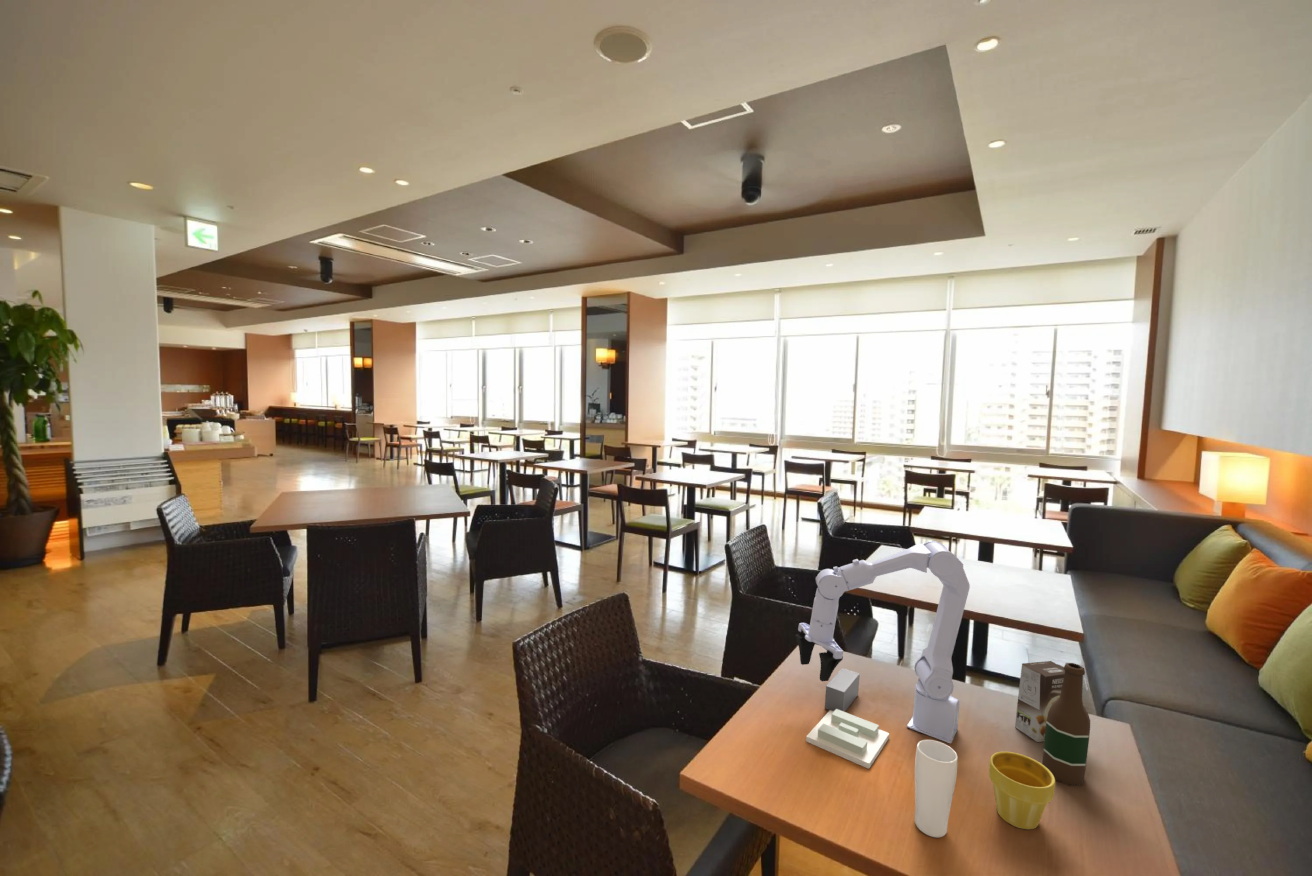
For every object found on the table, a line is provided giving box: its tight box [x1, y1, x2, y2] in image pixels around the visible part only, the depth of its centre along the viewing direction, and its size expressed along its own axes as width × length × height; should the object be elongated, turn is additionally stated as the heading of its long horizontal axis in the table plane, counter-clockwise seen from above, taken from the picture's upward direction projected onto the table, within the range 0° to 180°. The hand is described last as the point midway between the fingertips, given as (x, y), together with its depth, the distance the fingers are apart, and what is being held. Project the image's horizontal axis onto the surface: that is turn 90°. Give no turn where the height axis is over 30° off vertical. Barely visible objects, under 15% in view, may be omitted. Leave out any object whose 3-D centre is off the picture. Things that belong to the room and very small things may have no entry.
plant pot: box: [988, 751, 1056, 830], centre depth 107 cm, size 10×10×10 cm
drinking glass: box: [914, 739, 959, 838], centre depth 104 cm, size 7×7×15 cm
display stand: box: [805, 709, 890, 770], centre depth 130 cm, size 14×14×3 cm
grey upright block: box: [824, 667, 860, 712], centre depth 146 cm, size 4×12×6 cm, turn 143°
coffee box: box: [1014, 660, 1065, 743], centre depth 135 cm, size 9×6×16 cm
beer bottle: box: [1041, 662, 1091, 786], centre depth 120 cm, size 8×8×24 cm
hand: (814, 671), depth 140 cm, fingers open, 7 cm apart
